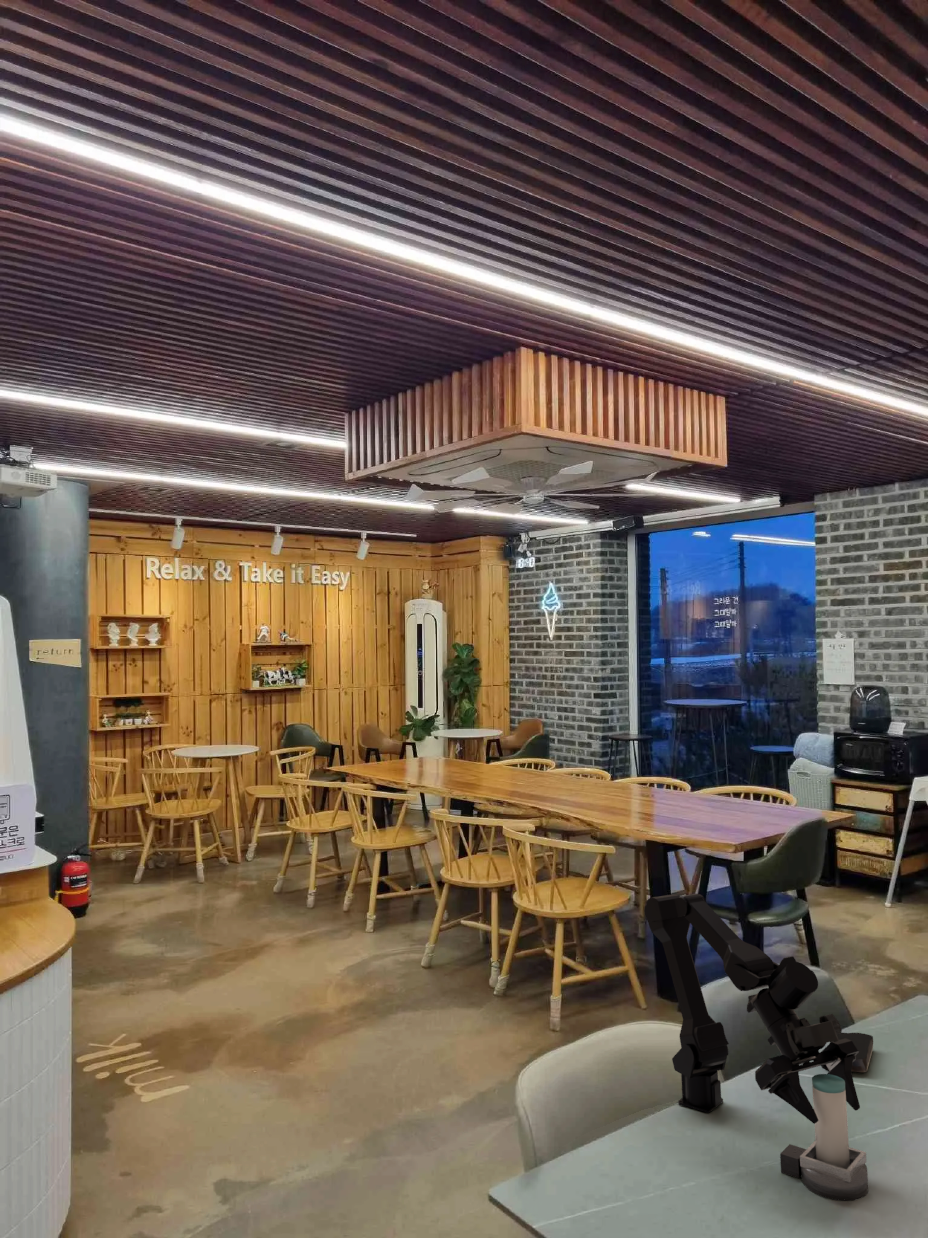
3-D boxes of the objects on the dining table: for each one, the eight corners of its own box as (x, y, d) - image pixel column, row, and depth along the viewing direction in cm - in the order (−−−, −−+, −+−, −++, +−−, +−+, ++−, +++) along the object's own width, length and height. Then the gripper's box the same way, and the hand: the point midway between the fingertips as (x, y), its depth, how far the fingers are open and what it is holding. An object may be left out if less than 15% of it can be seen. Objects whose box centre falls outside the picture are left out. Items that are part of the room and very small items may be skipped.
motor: (773, 1180, 150) (772, 1151, 150) (797, 1155, 157) (796, 1128, 158) (856, 1208, 141) (854, 1177, 142) (877, 1181, 149) (875, 1152, 149)
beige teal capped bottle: (824, 1172, 146) (819, 1087, 147) (811, 1157, 151) (807, 1074, 152) (855, 1171, 146) (850, 1086, 147) (842, 1155, 151) (837, 1073, 152)
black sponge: (867, 1079, 187) (866, 1061, 187) (822, 1072, 191) (822, 1054, 191) (875, 1051, 201) (874, 1034, 201) (834, 1045, 205) (833, 1028, 206)
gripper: (763, 1009, 150) (820, 1106, 139) (846, 989, 158) (906, 1080, 147) (732, 1042, 156) (784, 1138, 146) (813, 1022, 164) (868, 1111, 154)
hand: (837, 1116), depth 148 cm, fingers open, 9 cm apart
